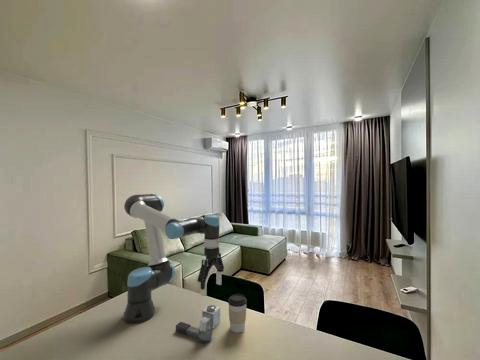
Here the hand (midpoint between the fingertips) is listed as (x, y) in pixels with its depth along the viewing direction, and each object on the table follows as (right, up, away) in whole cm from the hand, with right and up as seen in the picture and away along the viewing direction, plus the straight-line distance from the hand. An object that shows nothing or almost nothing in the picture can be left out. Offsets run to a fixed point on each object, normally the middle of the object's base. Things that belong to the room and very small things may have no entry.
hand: (211, 289), depth 113 cm
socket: (0, -17, -1) cm, 17 cm away
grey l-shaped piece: (-7, -16, -9) cm, 20 cm away
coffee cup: (+13, -17, -4) cm, 21 cm away
